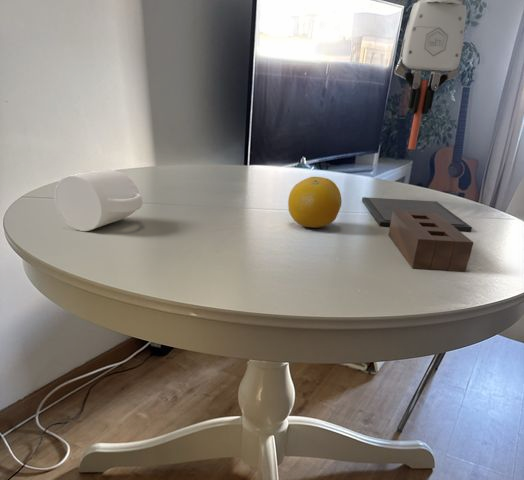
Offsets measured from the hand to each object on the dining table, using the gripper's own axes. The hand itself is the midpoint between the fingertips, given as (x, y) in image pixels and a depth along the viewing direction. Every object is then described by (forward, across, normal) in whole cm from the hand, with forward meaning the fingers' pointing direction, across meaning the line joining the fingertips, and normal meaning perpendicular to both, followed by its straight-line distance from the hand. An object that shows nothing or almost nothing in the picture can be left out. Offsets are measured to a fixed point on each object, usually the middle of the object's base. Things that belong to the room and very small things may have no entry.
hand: (418, 112), depth 92 cm
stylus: (+7, 0, 0) cm, 7 cm away
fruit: (+18, -20, -22) cm, 35 cm away
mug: (+18, -53, -29) cm, 63 cm away
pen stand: (+18, -4, -33) cm, 38 cm away
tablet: (+18, 0, -8) cm, 19 cm away
